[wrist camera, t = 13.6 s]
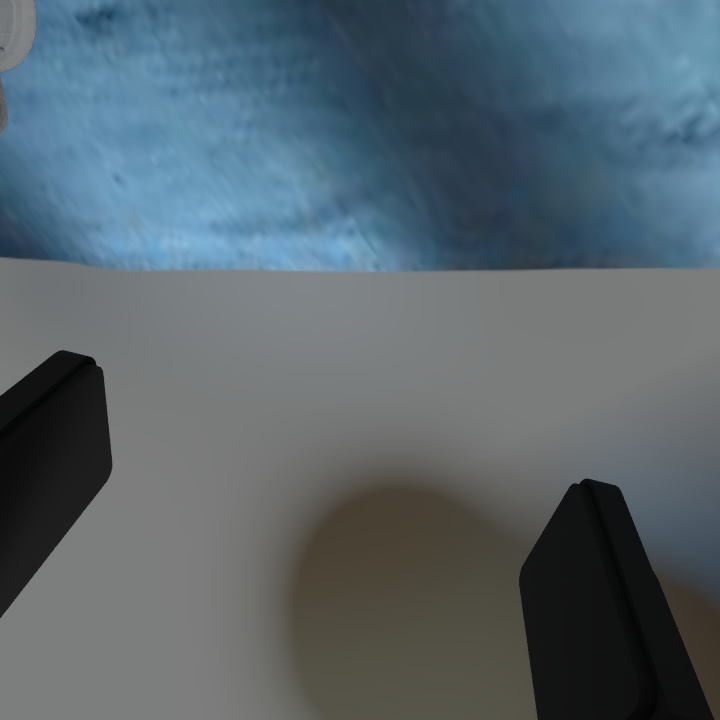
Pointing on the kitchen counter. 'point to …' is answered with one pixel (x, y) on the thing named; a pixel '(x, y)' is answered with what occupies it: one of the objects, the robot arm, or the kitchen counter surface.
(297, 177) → the kitchen counter surface
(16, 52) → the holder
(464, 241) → the kitchen counter surface
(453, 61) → the kitchen counter surface
